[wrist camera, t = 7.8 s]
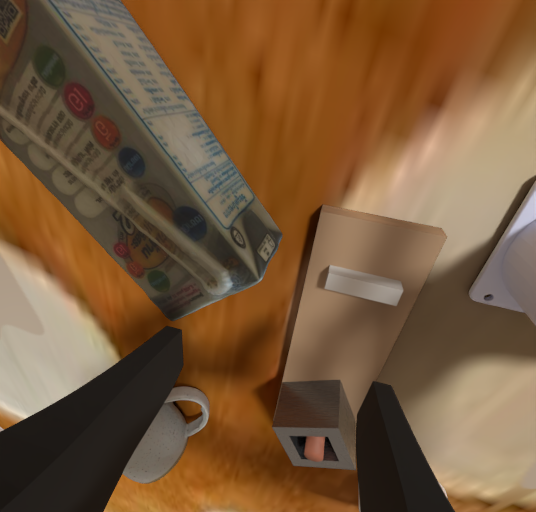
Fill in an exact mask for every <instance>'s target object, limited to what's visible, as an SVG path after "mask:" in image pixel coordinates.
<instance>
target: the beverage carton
mask: <svg viewBox="0 0 536 512" xmlns="http://www.w3.org/2000/svg"><path fill="white" fill-rule="evenodd" d="M0 140H1V141H2V142H3V143H4V144H5V145H6V146H7V147H8V148H9V149H10V150H11V151H12V152H13V153H14V154H15V155H16V156H17V157H18V158H19V159H20V160H21V161H22V162H23V163H24V164H25V166H26V167H27V168H28V169H29V170H30V171H31V172H32V173H33V174H34V175H35V176H36V177H37V178H38V179H39V180H40V181H41V182H42V183H43V184H44V186H45V187H46V188H47V189H48V190H49V191H50V192H51V193H52V194H53V195H54V196H55V197H56V198H57V199H58V200H59V201H60V202H61V203H62V204H63V205H64V206H65V207H66V208H67V210H68V211H69V212H70V213H71V214H72V215H73V216H74V217H75V218H76V219H77V220H78V221H79V222H80V223H81V224H82V225H83V227H84V228H85V229H86V230H87V231H88V232H89V233H90V234H91V235H92V236H93V237H94V239H95V240H96V241H97V242H98V243H99V244H100V245H101V246H102V247H103V248H104V249H105V250H106V252H107V253H108V254H109V255H110V256H111V257H112V258H113V259H114V260H115V261H116V262H117V263H118V264H119V265H120V266H121V267H122V268H123V269H124V270H125V271H126V272H127V273H128V274H129V275H130V277H131V278H132V279H133V280H134V281H135V282H136V283H137V284H138V285H139V286H140V287H141V288H142V289H143V290H144V291H145V293H146V294H147V295H148V297H149V298H150V300H151V301H152V302H153V303H154V304H155V305H156V306H157V307H158V308H159V309H160V310H161V311H162V312H163V314H164V315H165V316H166V317H167V318H168V319H169V320H171V321H175V320H177V319H179V318H182V317H184V316H186V315H188V314H190V313H193V312H195V311H197V310H199V309H200V308H203V307H205V306H207V305H209V304H212V303H214V302H216V301H219V300H221V299H223V298H225V297H227V296H229V295H232V294H236V293H238V292H240V291H242V290H245V289H247V288H249V287H251V286H253V285H255V284H257V283H259V282H260V281H261V280H262V279H263V276H264V274H265V271H266V269H267V266H268V263H269V261H270V260H271V258H272V257H273V256H274V254H275V253H276V251H277V249H278V246H279V242H280V241H281V239H282V233H281V231H280V230H279V229H278V227H277V226H276V224H275V223H274V221H273V220H272V218H271V216H270V215H269V214H268V212H267V211H266V210H265V208H264V207H263V205H262V204H261V203H260V201H259V200H258V198H257V197H256V195H255V194H254V192H253V191H252V190H251V188H250V187H249V185H248V184H247V182H246V181H245V179H244V178H243V176H242V175H241V173H240V172H239V170H238V169H237V167H236V166H235V164H234V163H233V162H232V160H231V159H230V157H229V156H228V155H227V153H226V152H225V150H224V149H223V147H222V146H221V144H220V143H219V141H218V140H217V139H216V137H215V136H214V134H213V133H212V132H211V130H210V129H209V127H208V126H207V124H206V123H205V121H204V120H203V118H202V117H201V115H200V114H199V112H198V111H197V109H196V108H195V106H194V105H193V104H192V102H191V101H190V99H189V98H188V96H187V95H186V93H185V92H184V90H183V89H182V88H181V86H180V85H179V83H178V82H177V80H176V79H175V78H174V76H173V75H172V73H171V72H170V70H169V69H168V68H167V66H166V65H165V63H164V62H163V60H162V59H161V57H160V56H159V54H158V53H157V51H156V50H155V49H154V47H153V46H152V44H151V43H150V41H149V40H148V39H147V37H146V36H145V34H144V33H143V31H142V30H141V29H140V27H139V26H138V24H137V23H136V21H135V20H134V19H133V17H132V16H131V14H130V13H129V11H128V10H127V9H126V7H125V6H124V5H123V3H122V2H121V0H0Z"/></svg>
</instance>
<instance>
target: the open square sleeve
mask: <svg viewBox="0 0 536 512" xmlns="http://www.w3.org/2000/svg"><path fill="white" fill-rule="evenodd" d="M272 428H273V429H274V431H275V433H276V435H277V437H278V439H279V440H280V442H281V444H282V446H283V448H284V449H285V451H286V453H287V455H288V457H289V458H290V460H291V462H292V464H293V466H306V467H320V468H334V469H348V470H356V448H355V418H354V415H353V412H352V410H351V407H350V404H349V401H348V399H347V396H346V393H345V391H344V388H343V385H342V383H341V380H318V381H296V382H283V383H282V388H281V392H280V396H279V400H278V405H277V409H276V413H275V417H274V422H273V426H272ZM306 436H315V437H325V443H324V456H323V460H322V461H320V462H315V461H311V460H309V459H307V458H306V457H305V455H304V452H305V444H306Z"/></svg>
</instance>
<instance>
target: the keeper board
mask: <svg viewBox="0 0 536 512" xmlns="http://www.w3.org/2000/svg"><path fill="white" fill-rule="evenodd" d="M446 239H447V236H446V234H445V233H444V231H443V230H442V228H438V227H433V226H428V225H423V224H418V223H413V222H407V221H402V220H397V219H392V218H387V217H382V216H377V215H372V214H367V213H362V212H357V211H352V210H347V209H342V208H337V207H332V206H327V205H322V209H321V213H320V218H319V222H318V226H317V231H316V235H315V240H314V244H313V248H312V253H311V257H310V261H309V266H308V270H307V275H306V279H305V283H304V288H303V292H302V296H301V301H300V305H299V310H298V314H297V318H296V323H295V327H294V331H293V336H292V340H291V345H290V349H289V353H288V358H287V362H286V367H285V371H284V375H283V380H282V383H283V382H296V381H318V380H341V383H342V385H343V388H344V391H345V393H346V396H347V399H348V401H349V404H350V407H351V410H352V412H353V415H354V418H355V423H356V421H357V413H358V411H359V409H360V407H361V405H362V403H363V401H364V399H365V396H366V394H367V392H368V390H369V388H370V386H371V384H372V382H373V381H376V380H377V378H378V376H379V374H380V372H381V370H382V368H383V366H384V364H385V362H386V360H387V358H388V356H389V354H390V352H391V350H392V348H393V346H394V344H395V342H396V340H397V338H398V336H399V334H400V332H401V330H402V328H403V326H404V324H405V322H406V319H407V317H408V315H409V313H410V311H411V309H412V307H413V305H414V303H415V301H416V299H417V297H418V295H419V293H420V291H421V289H422V287H423V285H424V283H425V281H426V279H427V277H428V275H429V273H430V271H431V269H432V267H433V265H434V263H435V261H436V259H437V257H438V255H439V253H440V251H441V249H442V247H443V245H444V243H445V241H446ZM281 388H282V384H281ZM281 388H280V392H281ZM279 396H280V393H279ZM278 400H279V397H278ZM277 405H278V402H277ZM276 409H277V406H276ZM275 413H276V410H275ZM274 417H275V415H274ZM273 421H274V419H273ZM324 443H325V437H315V436H306V444H305V452H304V455H305V457H306V458H307V459H309V460H311V461H315V462H320V461H322V460H323V456H324Z"/></svg>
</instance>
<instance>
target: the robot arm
mask: <svg viewBox="0 0 536 512" xmlns="http://www.w3.org/2000/svg"><path fill="white" fill-rule="evenodd" d="M488 294H491V295H490V296H489V297H484V296H485V295H488ZM469 296H470V298H471V299H472V300H473V301H476V302H480V303H484V304H488V305H493V306H497V307H501V308H506V309H510V310H514V311H519V312H523V313H526V315H527V316H528V317H529V318H530V320H531V321H532V322H533V323H534V325H535V326H536V181H535V182H534V184H533V186H532V187H531V189H530V191H529V192H528V194H527V196H526V197H525V199H524V201H523V202H522V204H521V206H520V207H519V209H518V211H517V212H516V214H515V216H514V217H513V219H512V220H511V222H510V224H509V225H508V227H507V229H506V230H505V232H504V234H503V235H502V237H501V239H500V240H499V242H498V244H497V245H496V247H495V249H494V250H493V252H492V254H491V255H490V257H489V259H488V260H487V262H486V264H485V265H484V267H483V269H482V270H481V272H480V274H479V275H478V277H477V279H476V280H475V282H474V283H473V285H472V287H471V288H470V290H469ZM182 367H183V346H182V330H180V329H177V328H173V327H169V326H166V327H165V328H163V329H162V330H161V331H159V332H158V333H157V334H155V335H154V336H153V337H151V338H150V339H149V340H148V341H146V342H145V343H144V344H142V345H141V346H140V347H138V348H137V349H136V350H134V351H133V352H132V353H130V354H129V355H127V356H126V357H125V358H123V359H122V360H120V361H119V362H118V363H116V364H115V365H114V366H112V367H111V368H109V369H108V370H106V371H105V372H103V373H102V374H100V375H99V376H97V377H96V378H94V379H93V380H91V381H90V382H88V383H87V384H85V385H84V386H82V387H80V388H79V389H77V390H76V391H74V392H72V393H71V394H69V395H67V396H66V397H64V398H62V399H60V400H59V401H57V402H55V403H54V404H52V405H50V406H48V407H47V408H45V409H43V410H41V411H39V412H37V413H35V414H34V415H32V416H30V417H28V418H26V419H24V420H22V421H20V422H18V423H17V424H15V425H13V426H11V427H9V428H7V429H5V430H3V431H0V512H103V511H104V509H105V507H106V505H107V503H108V501H109V499H110V497H111V495H112V493H113V491H114V489H115V487H116V485H117V483H118V481H119V479H120V477H121V475H122V473H123V471H124V469H125V467H126V465H127V463H128V462H129V460H130V458H131V456H132V455H133V453H134V451H135V449H136V448H137V446H138V444H139V443H140V441H141V440H142V438H143V436H144V435H145V433H146V432H147V430H148V428H149V427H150V425H151V423H152V422H153V420H154V419H155V417H156V415H157V414H158V412H159V410H160V409H161V407H162V406H163V404H164V402H165V401H166V399H167V397H168V396H169V394H170V392H171V391H172V389H173V387H174V384H175V382H176V380H177V378H178V376H179V374H180V372H181V370H182ZM356 456H357V470H358V484H359V497H360V510H361V512H455V511H454V509H453V508H452V506H451V504H450V502H449V501H448V499H447V497H446V495H445V493H444V492H443V490H442V488H441V486H440V484H439V483H438V481H437V479H436V477H435V475H434V473H433V472H432V470H431V468H430V466H429V464H428V462H427V460H426V458H425V456H424V454H423V452H422V450H421V448H420V446H419V444H418V442H417V440H416V438H415V436H414V434H413V432H412V430H411V428H410V426H409V423H408V421H407V419H406V417H405V415H404V413H403V410H402V408H401V406H400V404H399V401H398V399H397V397H396V395H395V392H394V390H393V388H392V386H391V385H387V384H383V383H379V382H376V381H373V382H372V384H371V386H370V388H369V390H368V392H367V394H366V396H365V399H364V401H363V403H362V405H361V407H360V409H359V411H358V413H357V423H356Z"/></svg>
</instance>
